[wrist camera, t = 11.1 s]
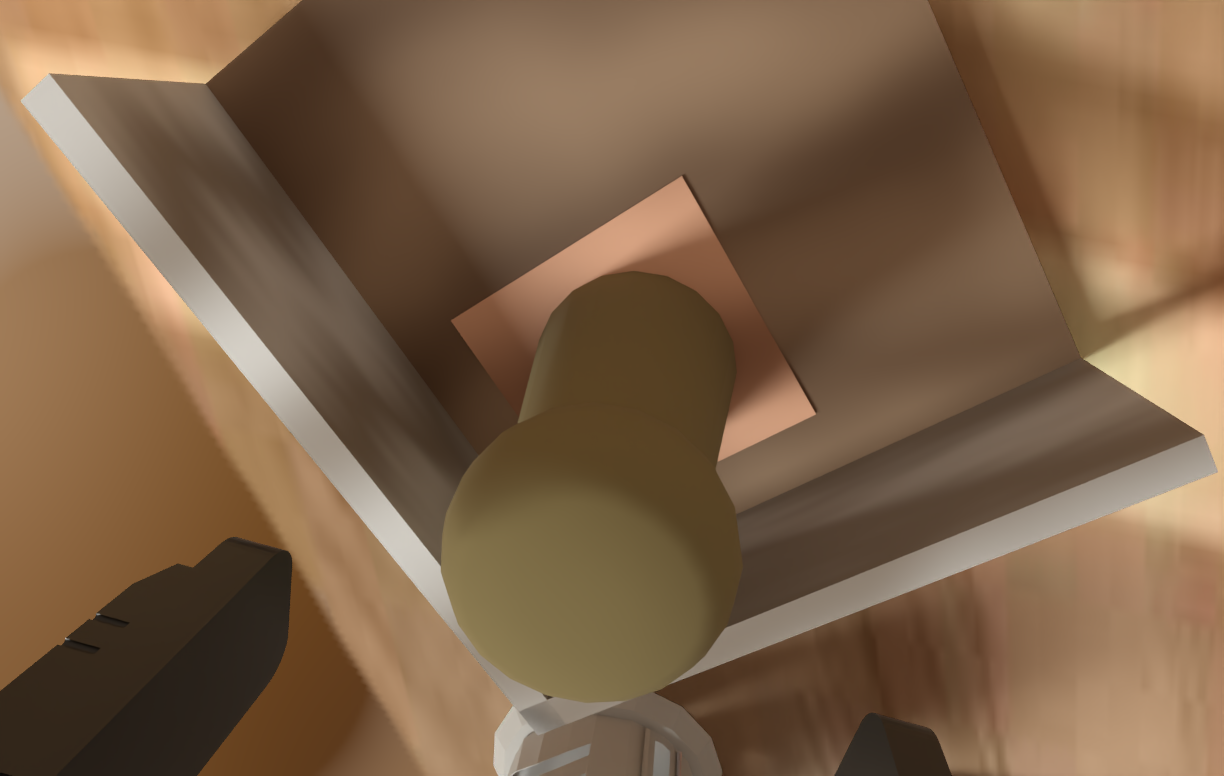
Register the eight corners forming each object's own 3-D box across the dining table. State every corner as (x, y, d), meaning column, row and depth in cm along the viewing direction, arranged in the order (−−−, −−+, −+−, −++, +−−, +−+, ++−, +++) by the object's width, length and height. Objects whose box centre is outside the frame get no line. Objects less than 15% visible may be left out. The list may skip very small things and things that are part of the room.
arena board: (1066, 369, 21) (1218, 471, 15) (574, 591, 26) (538, 735, 20) (753, -350, 16) (789, -641, 10) (216, 105, 21) (19, 100, 15)
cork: (506, 307, 20) (316, 497, 10) (703, 242, 19) (711, 387, 9) (576, 479, 22) (476, 786, 12) (760, 432, 21) (821, 732, 11)
